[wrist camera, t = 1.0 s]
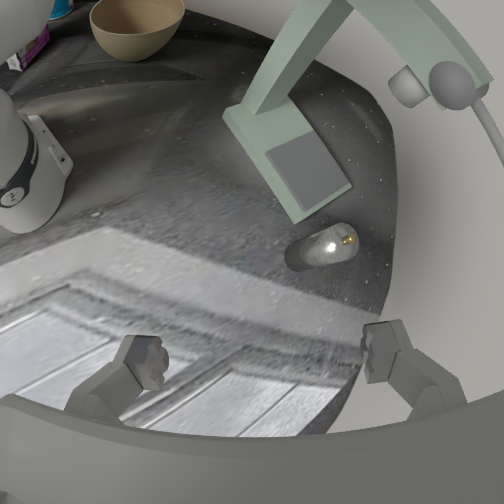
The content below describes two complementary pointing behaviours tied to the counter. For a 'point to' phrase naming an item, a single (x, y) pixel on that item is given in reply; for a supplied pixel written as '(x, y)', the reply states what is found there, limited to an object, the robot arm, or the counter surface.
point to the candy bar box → (29, 51)
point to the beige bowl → (135, 26)
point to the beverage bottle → (61, 8)
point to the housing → (323, 248)
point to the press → (401, 85)
